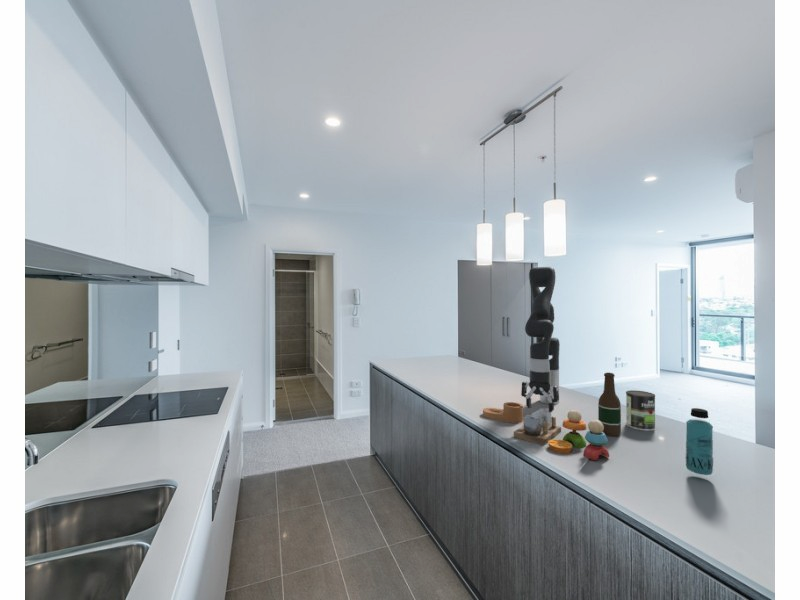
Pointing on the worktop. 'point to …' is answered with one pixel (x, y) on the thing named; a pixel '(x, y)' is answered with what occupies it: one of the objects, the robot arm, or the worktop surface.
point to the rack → (545, 436)
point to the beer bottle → (610, 408)
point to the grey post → (536, 422)
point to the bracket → (506, 412)
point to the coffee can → (640, 410)
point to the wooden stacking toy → (581, 437)
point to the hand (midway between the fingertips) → (539, 409)
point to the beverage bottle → (699, 443)
